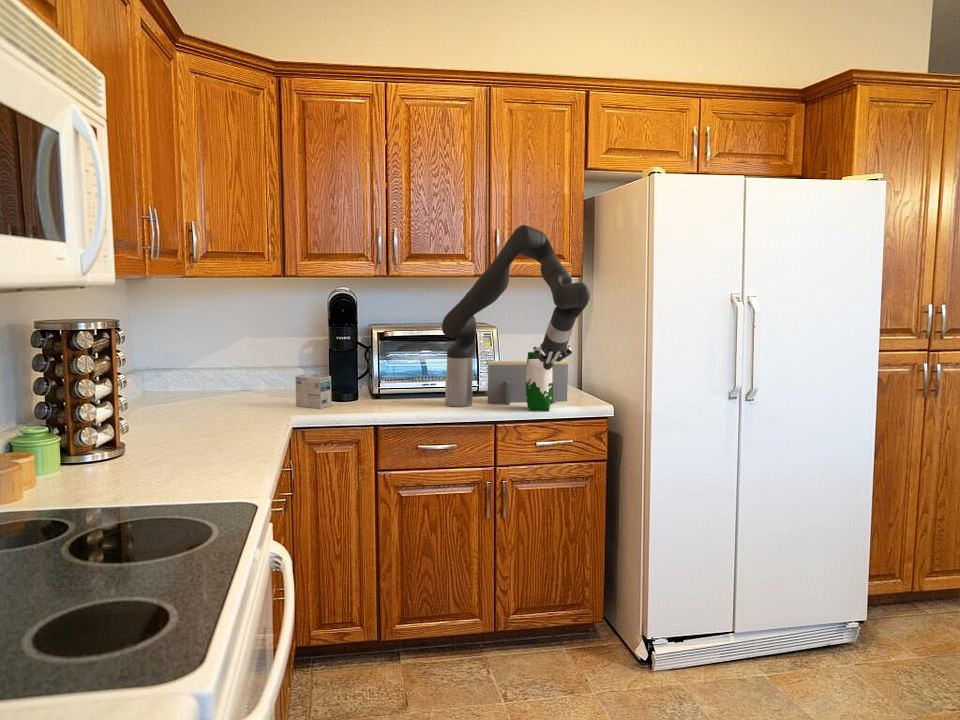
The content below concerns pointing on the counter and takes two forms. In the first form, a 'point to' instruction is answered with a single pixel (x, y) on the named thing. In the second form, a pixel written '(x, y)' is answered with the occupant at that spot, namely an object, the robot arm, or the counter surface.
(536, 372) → the soya milk
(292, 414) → the counter surface
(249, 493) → the counter surface
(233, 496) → the counter surface
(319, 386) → the light bulb box
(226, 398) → the counter surface
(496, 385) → the grey backboard
